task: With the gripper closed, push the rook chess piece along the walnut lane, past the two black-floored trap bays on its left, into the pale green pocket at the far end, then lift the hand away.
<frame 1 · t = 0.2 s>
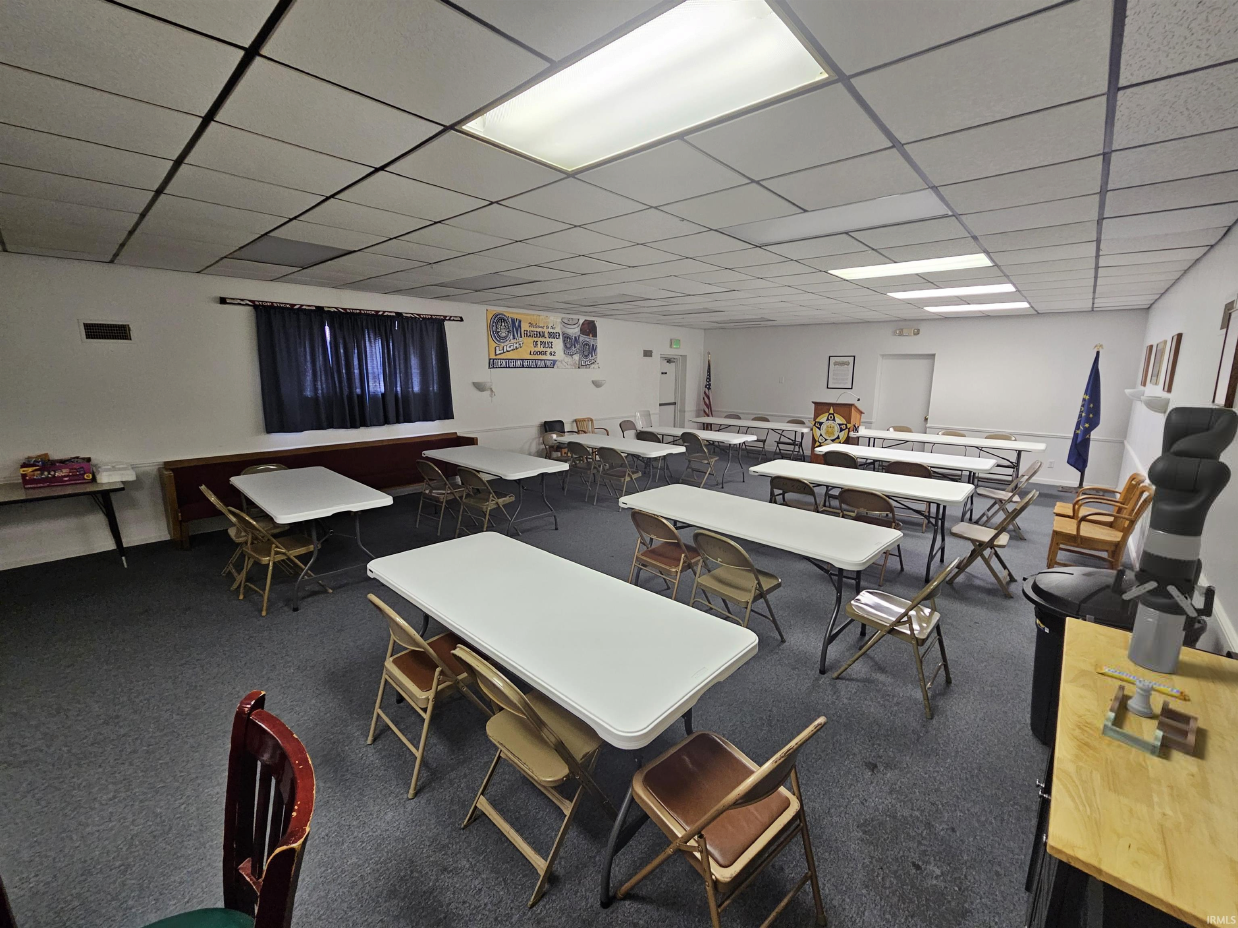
hand: (1154, 622, 102), 28 cm above the table, fingers open, 8 cm apart
candy bar: (1138, 685, 126), on the table
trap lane: (1135, 721, 112), on the table
rook chess piece: (1138, 712, 115), resting in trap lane
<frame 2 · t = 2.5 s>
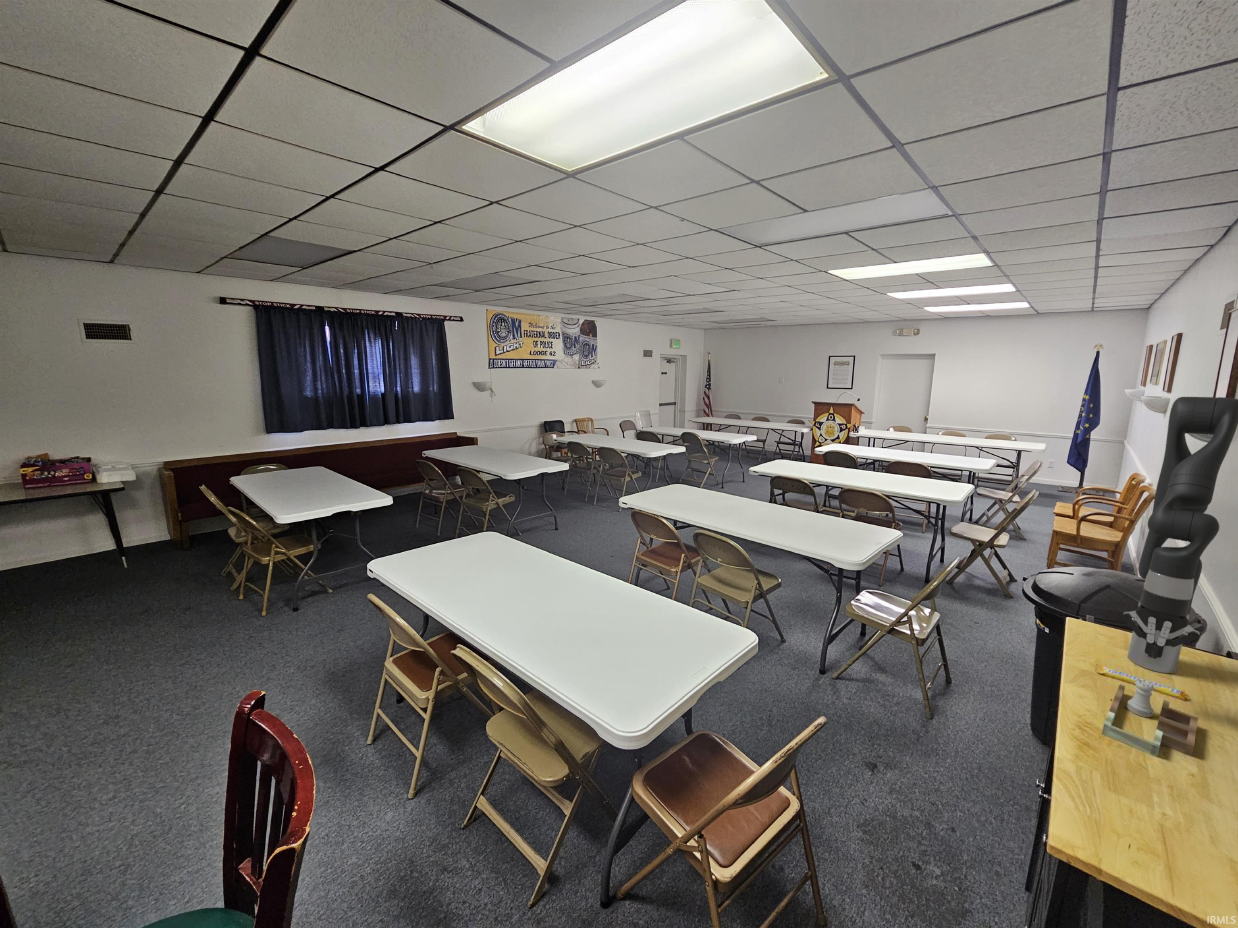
hand: (1152, 656, 116), 12 cm above the table, fingers closed
nothing on the table moved.
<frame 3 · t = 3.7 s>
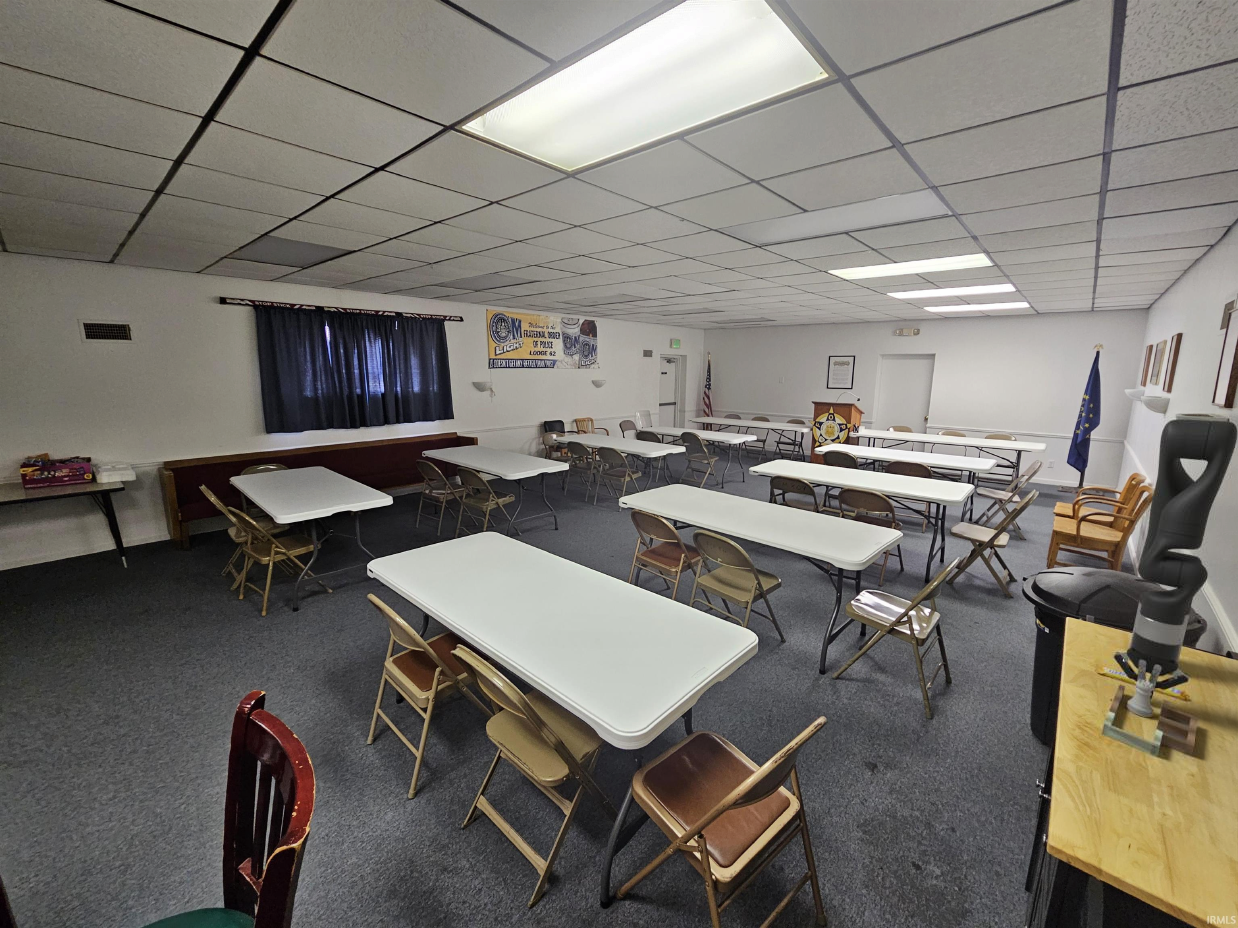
hand: (1142, 697, 119), 1 cm above the table, fingers closed
nothing on the table moved.
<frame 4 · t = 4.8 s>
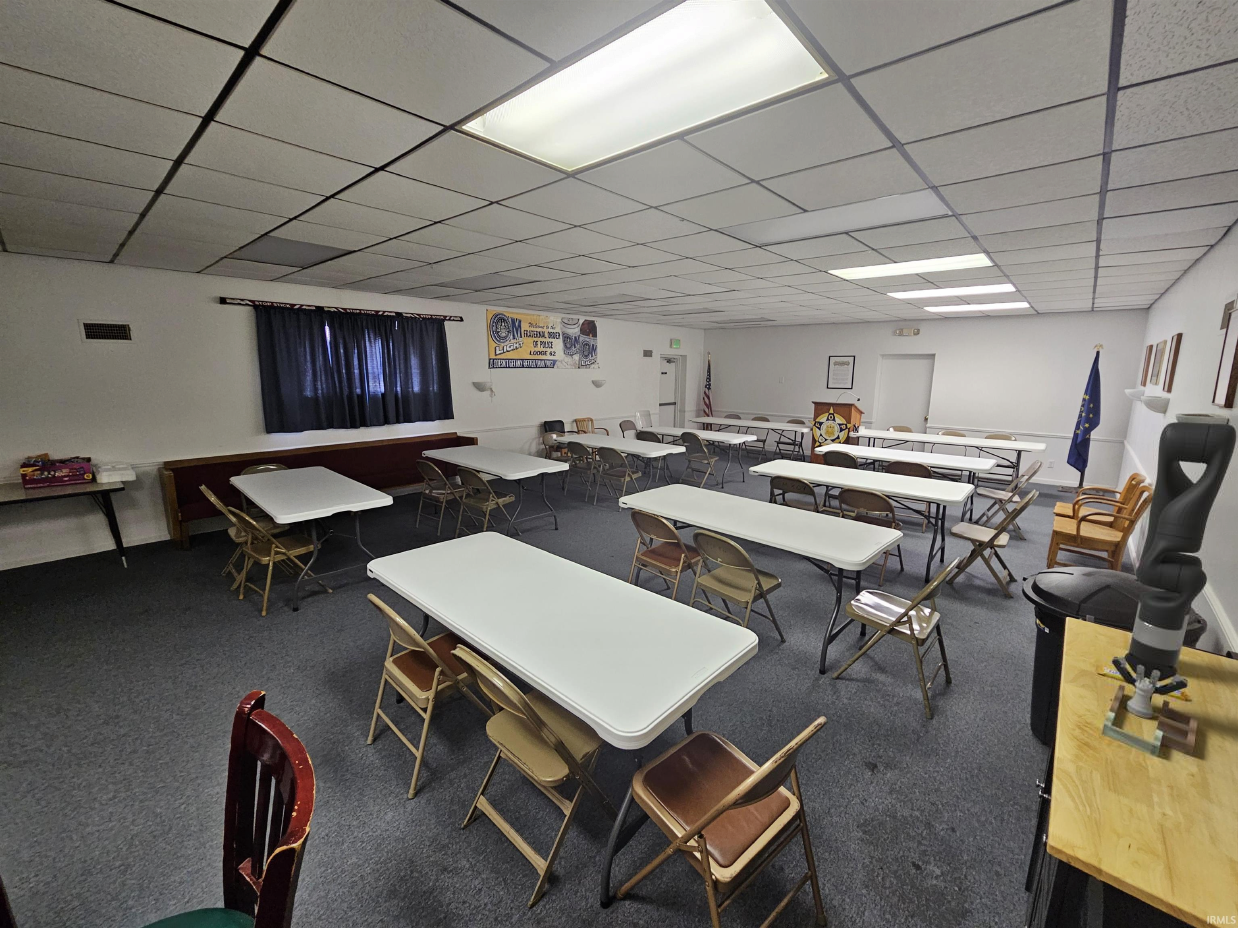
hand: (1141, 702, 117), 1 cm above the table, fingers closed
rook chess piece: (1138, 713, 115), resting in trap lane, touching gripper
everything else where it was.
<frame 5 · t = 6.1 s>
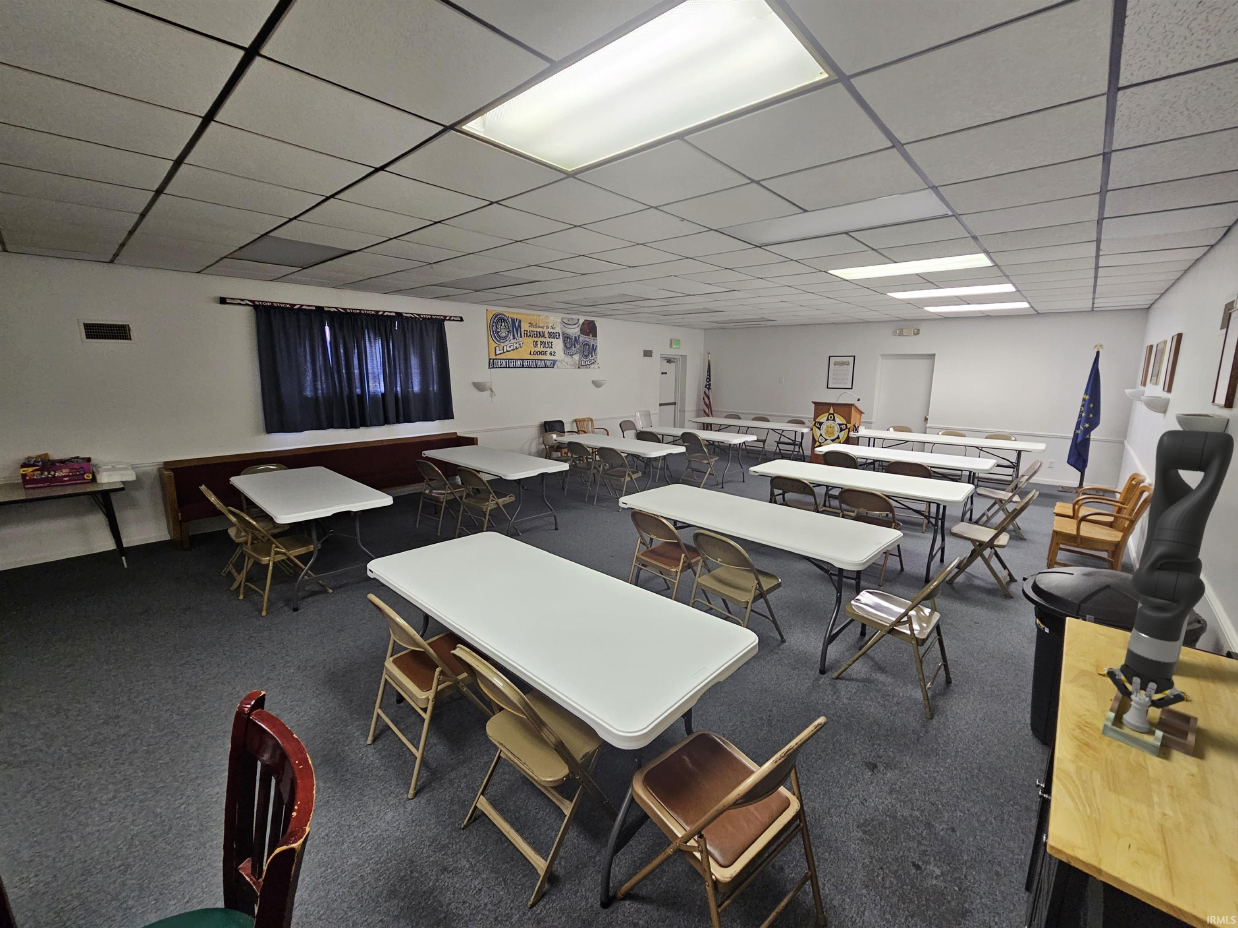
hand: (1137, 716, 112), 1 cm above the table, fingers closed
rook chess piece: (1134, 727, 111), resting in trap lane, touching gripper
everything else where it was.
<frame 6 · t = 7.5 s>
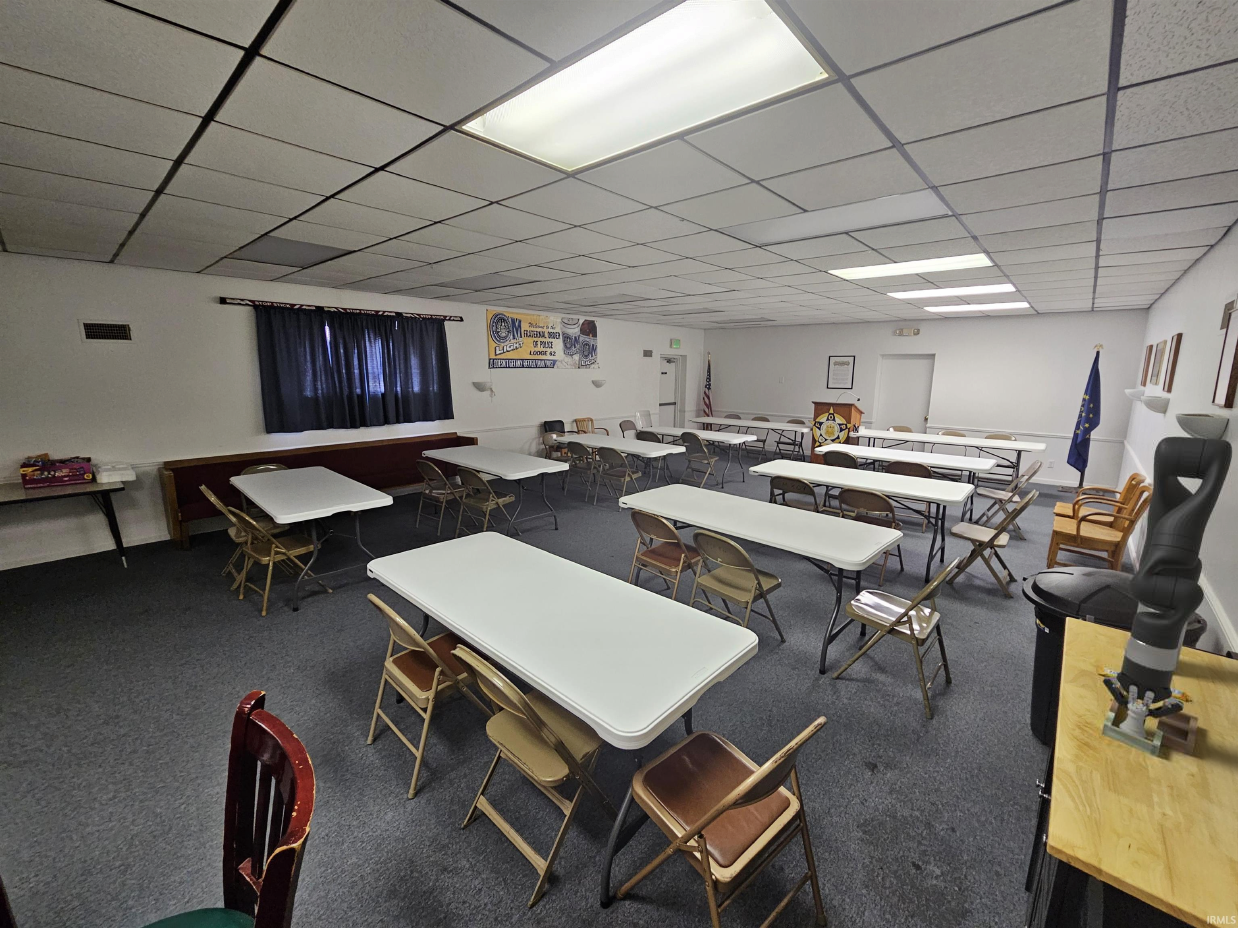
hand: (1134, 725, 109), 1 cm above the table, fingers closed
rook chess piece: (1131, 736, 108), resting in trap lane, touching gripper
everything else where it was.
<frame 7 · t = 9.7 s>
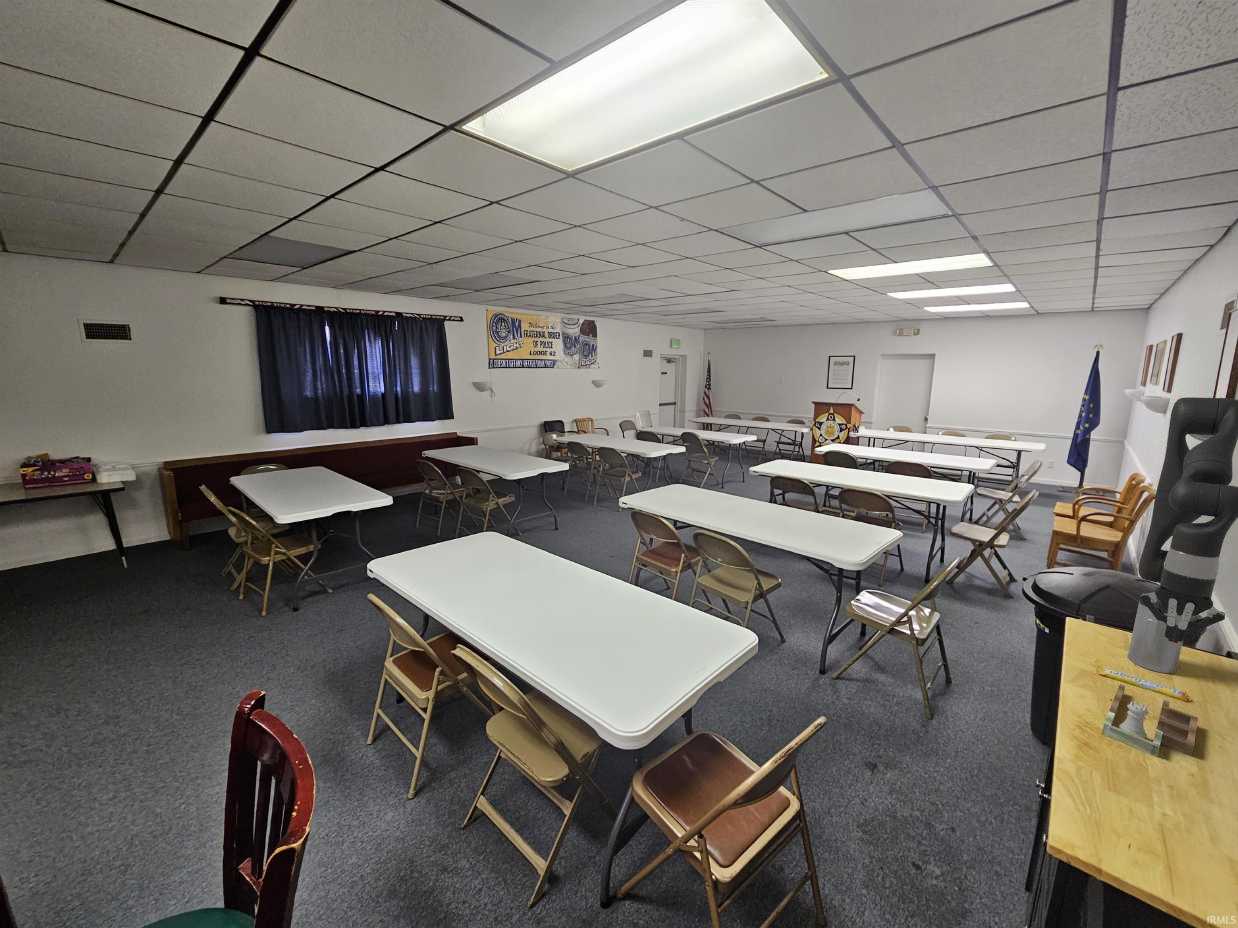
hand: (1173, 640, 109), 21 cm above the table, fingers closed
rook chess piece: (1131, 737, 108), resting in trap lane
everything else where it was.
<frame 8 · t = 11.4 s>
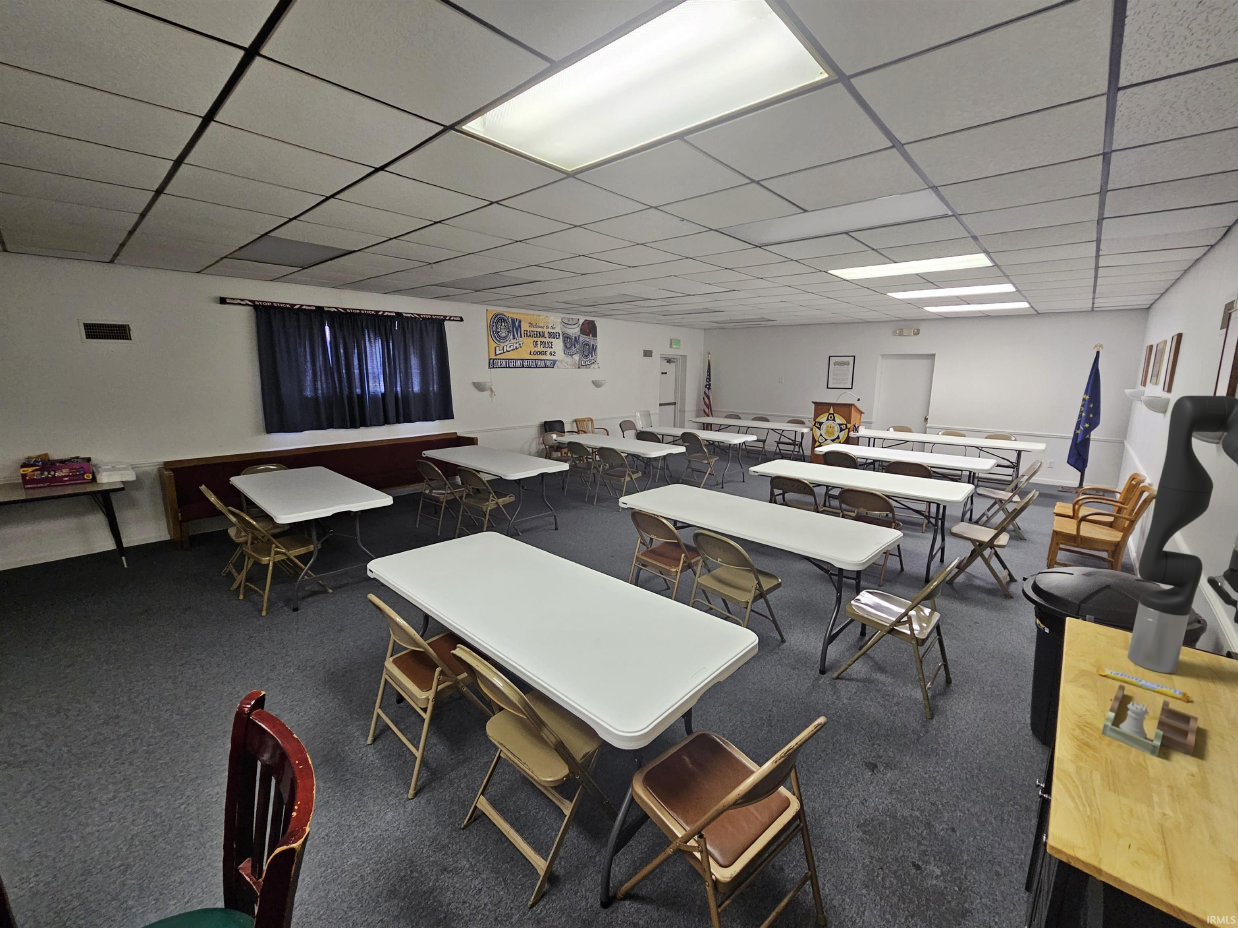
nothing on the table moved.
at the end: rook chess piece inside the target area (0.5 cm from its centre), resting in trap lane; rook chess piece tilted 0°; rook chess piece touching table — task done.
